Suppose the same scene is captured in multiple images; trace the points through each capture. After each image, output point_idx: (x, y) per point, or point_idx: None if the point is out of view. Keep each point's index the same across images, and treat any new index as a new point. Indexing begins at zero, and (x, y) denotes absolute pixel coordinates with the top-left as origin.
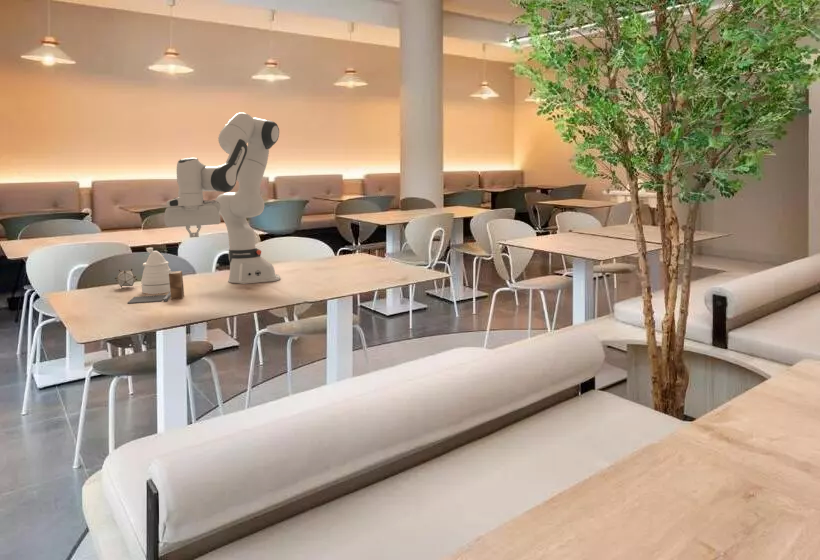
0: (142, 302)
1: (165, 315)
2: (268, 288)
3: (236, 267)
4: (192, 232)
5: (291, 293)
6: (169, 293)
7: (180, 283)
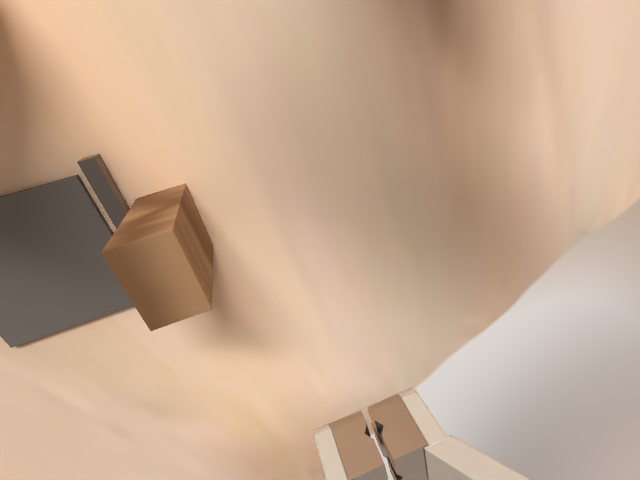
0: (74, 323)
1: (285, 438)
2: (521, 20)
3: None
4: (365, 474)
5: (581, 154)
6: (108, 199)
7: (211, 279)
